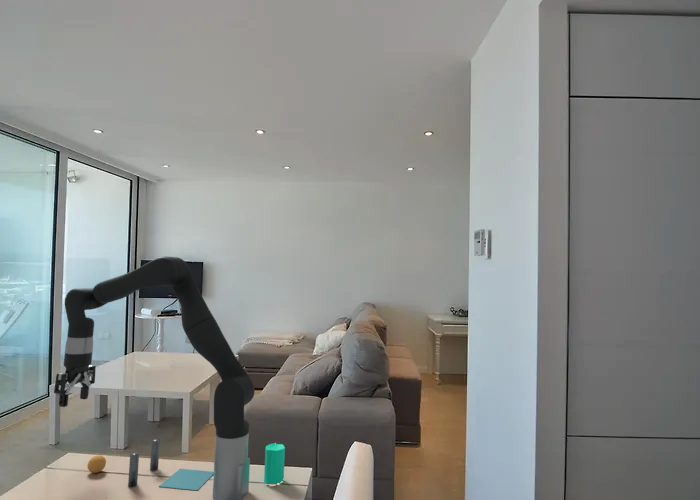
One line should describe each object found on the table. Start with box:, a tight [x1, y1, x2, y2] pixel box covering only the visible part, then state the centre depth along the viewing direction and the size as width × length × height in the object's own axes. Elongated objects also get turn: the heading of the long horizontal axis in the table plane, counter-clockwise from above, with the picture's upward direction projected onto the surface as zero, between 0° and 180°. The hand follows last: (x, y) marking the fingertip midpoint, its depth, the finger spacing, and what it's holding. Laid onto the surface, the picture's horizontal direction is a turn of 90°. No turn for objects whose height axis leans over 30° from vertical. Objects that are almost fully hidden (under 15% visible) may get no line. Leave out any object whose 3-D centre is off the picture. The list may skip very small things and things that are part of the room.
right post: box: [149, 438, 161, 472], centre depth 138 cm, size 2×2×9 cm
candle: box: [263, 441, 286, 484], centre depth 132 cm, size 6×6×12 cm
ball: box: [87, 454, 107, 474], centre depth 134 cm, size 5×5×5 cm
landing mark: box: [158, 468, 214, 492], centre depth 131 cm, size 12×12×1 cm
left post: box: [127, 451, 140, 488], centre depth 127 cm, size 2×2×9 cm
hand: (73, 402), depth 136 cm, fingers open, 8 cm apart
